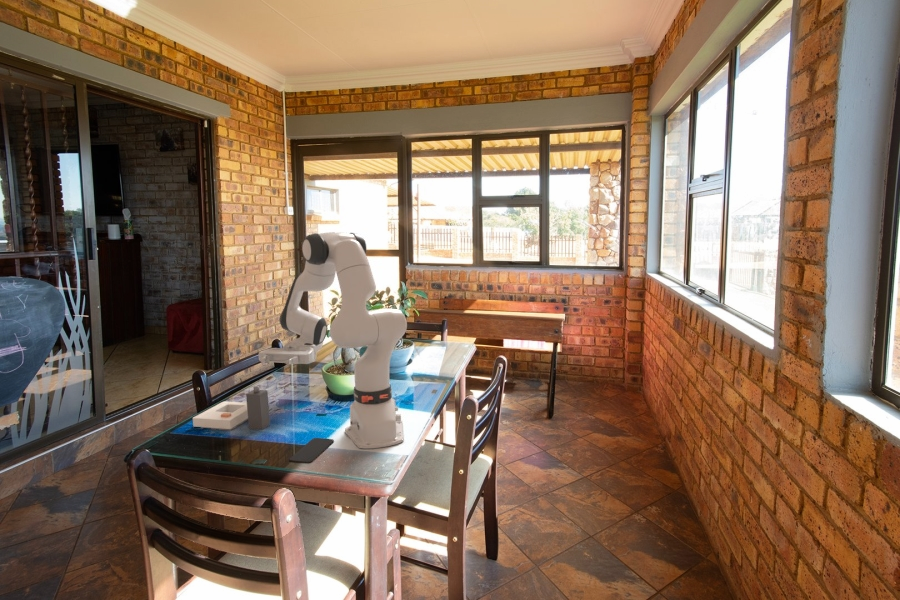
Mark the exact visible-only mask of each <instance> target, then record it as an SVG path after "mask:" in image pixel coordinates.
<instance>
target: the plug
mask: <svg viewBox="0 0 900 600" xmlns="http://www.w3.org/2000/svg"><path fill="white" fill-rule="evenodd" d="M245 397H246V403H247V411H248V420H247V421H248V429H249V430H257V431H258V430H260V431H263V430H264V429H266V428H268V427H269V426H270V425H271V418H270V406H269V405H270V404H269V391H268V390H266V389H260V386H259V385H255V386H253V389H252V390H250V391H248V392H247V393H245ZM269 424H270V425H269ZM268 425H269V426H268Z"/></svg>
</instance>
